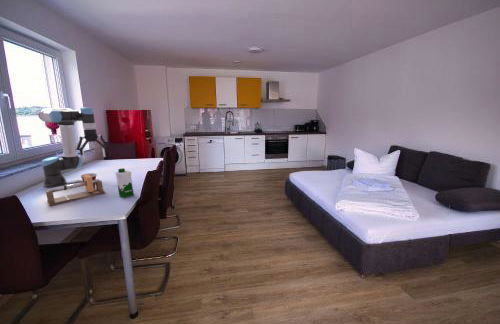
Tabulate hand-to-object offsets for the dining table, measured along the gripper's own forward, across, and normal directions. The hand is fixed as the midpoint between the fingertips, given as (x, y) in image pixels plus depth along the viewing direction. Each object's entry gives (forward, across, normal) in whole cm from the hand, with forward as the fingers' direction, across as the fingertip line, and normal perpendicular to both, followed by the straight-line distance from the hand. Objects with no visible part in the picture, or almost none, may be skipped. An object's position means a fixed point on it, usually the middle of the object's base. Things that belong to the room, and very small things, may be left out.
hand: (94, 158), depth 170 cm
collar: (+24, -6, 0) cm, 24 cm away
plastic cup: (+27, -3, +15) cm, 31 cm away
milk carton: (+28, +11, -24) cm, 38 cm away
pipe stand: (+27, -14, 0) cm, 31 cm away
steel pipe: (+20, -14, 0) cm, 24 cm away
